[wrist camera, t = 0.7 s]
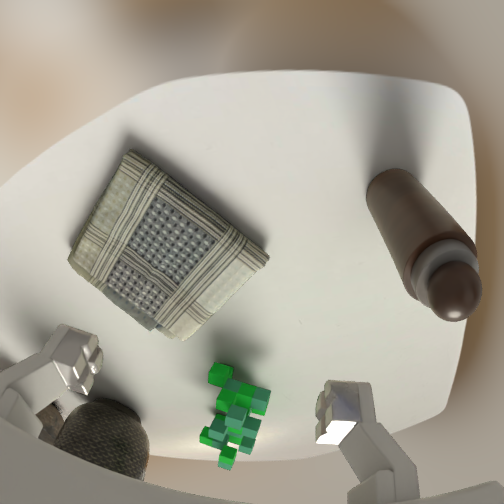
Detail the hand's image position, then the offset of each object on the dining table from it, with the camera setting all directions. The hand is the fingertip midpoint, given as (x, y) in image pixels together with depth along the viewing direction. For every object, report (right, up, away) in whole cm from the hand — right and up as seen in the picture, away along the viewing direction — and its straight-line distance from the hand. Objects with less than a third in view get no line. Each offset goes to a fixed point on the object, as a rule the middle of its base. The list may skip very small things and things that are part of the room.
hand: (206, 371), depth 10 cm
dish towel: (-9, +4, +24) cm, 26 cm away
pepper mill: (+15, +9, +18) cm, 25 cm away
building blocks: (-1, -18, +37) cm, 41 cm away
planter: (-28, -30, +48) cm, 63 cm away
